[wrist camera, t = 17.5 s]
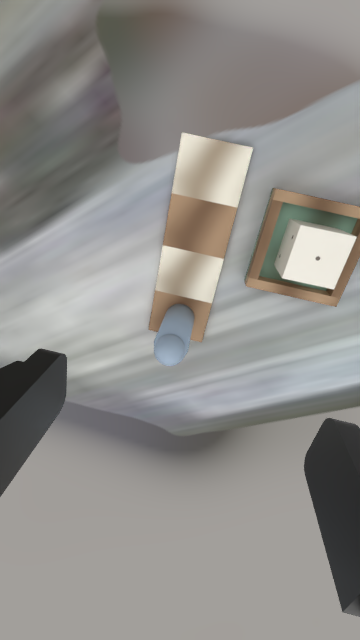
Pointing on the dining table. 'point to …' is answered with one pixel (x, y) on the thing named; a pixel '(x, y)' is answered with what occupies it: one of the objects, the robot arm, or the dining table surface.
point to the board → (198, 226)
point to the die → (313, 253)
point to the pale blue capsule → (174, 335)
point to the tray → (272, 233)
